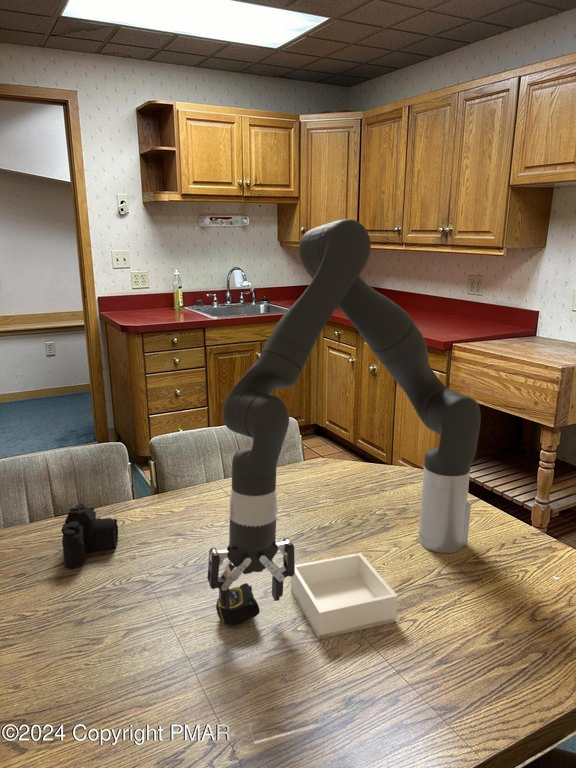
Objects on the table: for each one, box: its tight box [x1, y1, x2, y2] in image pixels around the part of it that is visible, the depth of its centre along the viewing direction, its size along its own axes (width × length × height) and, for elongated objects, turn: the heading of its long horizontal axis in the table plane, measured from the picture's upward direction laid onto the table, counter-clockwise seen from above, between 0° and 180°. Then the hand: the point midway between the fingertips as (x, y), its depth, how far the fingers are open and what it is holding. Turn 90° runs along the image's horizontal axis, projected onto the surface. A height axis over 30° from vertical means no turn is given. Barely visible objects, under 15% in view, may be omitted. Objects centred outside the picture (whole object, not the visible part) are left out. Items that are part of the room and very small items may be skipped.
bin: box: [290, 552, 398, 640], centre depth 100 cm, size 14×14×5 cm
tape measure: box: [215, 582, 261, 627], centre depth 96 cm, size 7×7×4 cm
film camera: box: [60, 503, 119, 570], centre depth 117 cm, size 15×10×9 cm, turn 8°
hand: (250, 602), depth 95 cm, fingers open, 8 cm apart
